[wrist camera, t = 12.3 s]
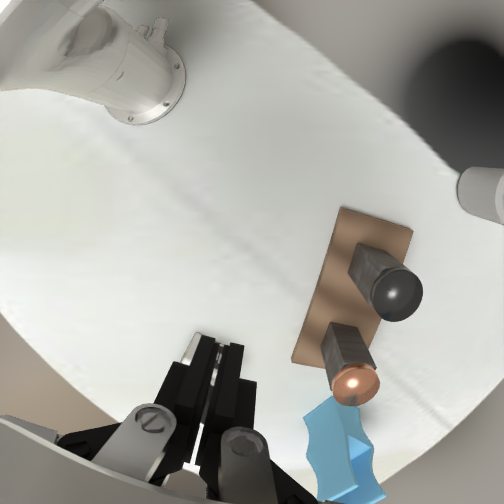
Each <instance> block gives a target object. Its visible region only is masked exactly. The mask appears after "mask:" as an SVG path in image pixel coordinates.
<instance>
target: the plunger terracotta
mask: <svg viewBox="0 0 504 504" xmlns="http://www.w3.org/2000/svg"><path fill="white" fill-rule="evenodd" d="M379 386H380V381H379V378H378V376H377V374H376V371H375V370H374V368H373V367H372V366H370V365H368V364H365V363H354V364H350V365H348V366H346V367H344V368H342V369H341V370H340V371H338V372H337V374H336V375H335V376H334V378H333V380H332V390H333V395H334V398H335V400H336V401H337V402H338V403H340V404H341V405H344V406H358V405H361V404H364V403H366V402H368V401H369V400H370V399H372V398H373V397H374V396H375V394H376V393H377V392H378V389H379Z"/></svg>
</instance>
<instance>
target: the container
mask: <svg viewBox="0 0 504 504" xmlns="http://www.w3.org/2000/svg"><path fill="white" fill-rule="evenodd" d="M200 338H201V334H199V333H195V334H194V336H193V338H192V340H191V342H190V344H189V346H188V348H187V349H186V351H185V353H184V355H183V357H182V359H181V361H180V363H183V364H186V365H190V363H191V361H192V358H193V355H194V353H195V350H196V348H197V345H198V343H199V340H200ZM216 343H217V342H216ZM223 348H224V345H222V344H220V345H219V350H218V354H217V358H216V362H215V367H214V371H213V375H212V380H211V384H210V388H209V393H208V397H207V401H206V404H205V408H204V412H203V416H202V419H201V423H200V426H204V423H205V419H206V415H207V411H208V407H209V403H210V399H211V395H212V391H213V387H214V383H215V379H216V375H217V371H218V367H219V363H220V359H221V356H222V352H223Z"/></svg>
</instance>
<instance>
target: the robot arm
mask: <svg viewBox="0 0 504 504" xmlns="http://www.w3.org/2000/svg"><path fill="white" fill-rule="evenodd" d="M103 1H104V0H0V91H10V90H19V89H32V88H34V89H45V90H51V91H55V92H59V93H63V94H67V95H70V96H74V97H78V98H81V99H85V100H88V101H91V102H95V103H98V104H102V105H105V107H106V109H107V111H108V112H109V114H110V115H111V116H113V117H114V118H115V119H116V120H118V121H120V122H122V123H126V124H130V125H144V124H148V123H151V122H154V121H156V120H158V119H160V118H161V117H163V116H164V115H166V114H167V113H168V112H169V111H170V110H171V109H172V108H173V107H174V106H175V104H176V103H177V101H178V100H179V98H180V96H181V94H182V92H183V89H184V85H185V68H184V64H183V62H182V60H181V58H180V57H179V56H178V54H177V53H176V52H175V51H174V50H173V49H172V48H170V47H168V46H167V45H164V42H165V40H164V39H163V37H164V34H165V32H166V30H167V27H168V24H169V22H170V21H169V20H168V19H165V18H157V19H156V21H155V24H154V27H153V32H152V34H151V37H148V38H147V40H146V39H145V36H146V35H147V32H148V29H149V27H148V26H145V25H141V26H140V27H139V29H138V32H137V31H136V30H135V29H134V28H133V27H132V26H130V25H129V24H128V23H127V22H126V21H125V20H124V19H123V18H121V17H120V16H119V15H118V14H117V13H116V12H114V11H113V10H111V9H109V8H107V7H105V6H102V5H99V4H101V3H102V2H103ZM178 67H180V68H179V69H177V68H178ZM168 103H169V106H167V104H168ZM132 118H133V121H132ZM219 345H220V343H216V342H215V338H212V337H208V336H204V335H201V338H200V340H199V343H198V345H197V348H196V350H195V353H194V355H193V358H192V361H191V363H190V365H186V364H183V363H179V362H176V361H174V362H173V363H172V365H171V367H170V369H169V371H168V374H167V376H166V378H165V380H164V382H163V384H162V386H161V388H160V391H159V393H158V395H157V397H156V399H155V401H154V403H153V404H150V403H148V404H142V405H140V406H137V407H136V408H135V409H133V410H132V412H131V413H130V414H129V415H128V417H127V418H126V419H125V420H124V421H123V422H121V423H117V424H112V425H108V426H103V427H99V428H94V429H89V430H84V431H79V432H73V433H69V434H66V435H59V434H58V431H56V430H52V429H49V428H46V427H43V426H39V425H36V424H33V423H30V422H27V421H25V420H21V419H19V418H16V417H13V416H10V415H1V416H0V504H344V503H339V502H334V501H330V500H324V501H323V502H322V501H317V499H316V498H315V497H314V496H313V495H312V494H311V493H309V492H308V491H307V490H306V489H304V488H303V487H302V486H301V485H300V484H298V483H297V482H296V481H295V480H294V479H292V478H291V477H290V476H289V475H288V474H287V473H285V472H284V471H283V470H282V469H281V468H280V467H279V466H278V465H276V464H275V463H274V462H273V461H272V460H271V459H270V455H269V450H268V444H267V442H266V439H265V438H264V437H263V436H262V434H260V433H259V432H257V431H256V430H254V429H253V428H254V415H255V402H256V388H257V382H255V381H250V380H246V379H241V378H240V372H241V365H242V358H243V352H244V345H240V344H236V343H230V346H228V345H224V348H223V352H222V356H221V359H220V363H219V367H218V371H217V375H216V379H215V383H214V387H213V391H212V395H211V399H210V403H209V407H208V411H207V415H206V419H205V423H204V427H203V431H202V436H201V440H200V444H199V448H198V452H197V457H196V461H195V465H198V466H200V471H199V475H200V477H201V478H202V479H203V480H204V481H205V482H206V483H207V486H206V499H204V498H200V497H195V496H191V495H187V494H183V493H179V492H176V491H172V490H168V489H165V488H164V486H165V484H166V482H167V480H168V478H169V475H170V474H171V473H174V472H177V471H179V470H181V469H182V467H183V464H184V462H186V463H190V461H191V457H192V453H193V449H194V446H195V442H196V438H197V434H198V431H199V427H200V423H201V419H202V416H203V412H204V408H205V404H206V401H207V397H208V393H209V388H210V384H211V380H212V375H213V371H214V367H215V362H216V358H217V354H218V350H219Z"/></svg>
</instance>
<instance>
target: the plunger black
mask: <svg viewBox="0 0 504 504" xmlns="http://www.w3.org/2000/svg"><path fill="white" fill-rule="evenodd" d="M422 296H423V287H422V284H421V281H420V280H419V278H418V277H417V276H416V275H415V274H413V273H412V272H411V271H410V270H408V269H407V268H404V267H392V268H389V269H387V270H385V271H383V272H382V273H381V274H380V275H379V276H378V277H377V278H376V279H375V281H374V283H373V285H372V287H371V291H370V300H371V304H372V306H373V308H374V309H375V311H376V312H377V314H378V315H379V316H380V317H381V318H382V319H384V320H386V321H390V322H397V321H402V320H404V319H406V318H408V317H409V316H411V315H412V314H413V313H414V312H415V311H416V310H417V308H418V307H419V305H420V303H421V300H422Z"/></svg>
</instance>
